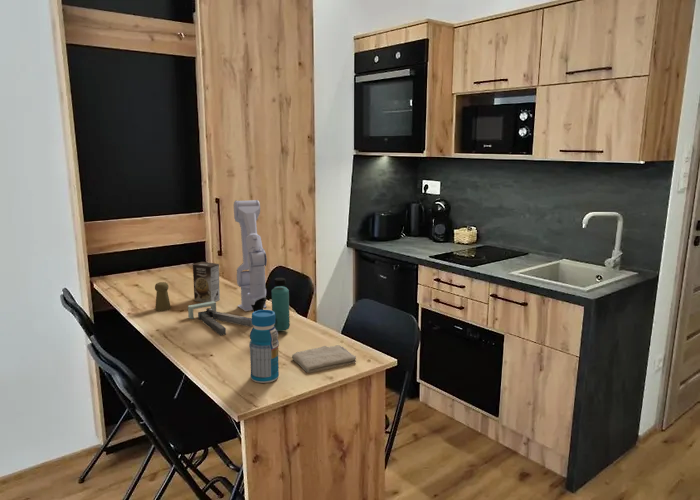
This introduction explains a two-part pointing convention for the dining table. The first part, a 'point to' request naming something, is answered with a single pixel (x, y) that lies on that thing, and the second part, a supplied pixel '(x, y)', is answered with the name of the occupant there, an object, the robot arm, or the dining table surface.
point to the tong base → (211, 322)
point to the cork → (162, 297)
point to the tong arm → (231, 318)
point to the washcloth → (323, 358)
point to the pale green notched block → (201, 305)
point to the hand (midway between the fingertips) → (258, 317)
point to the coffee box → (206, 282)
